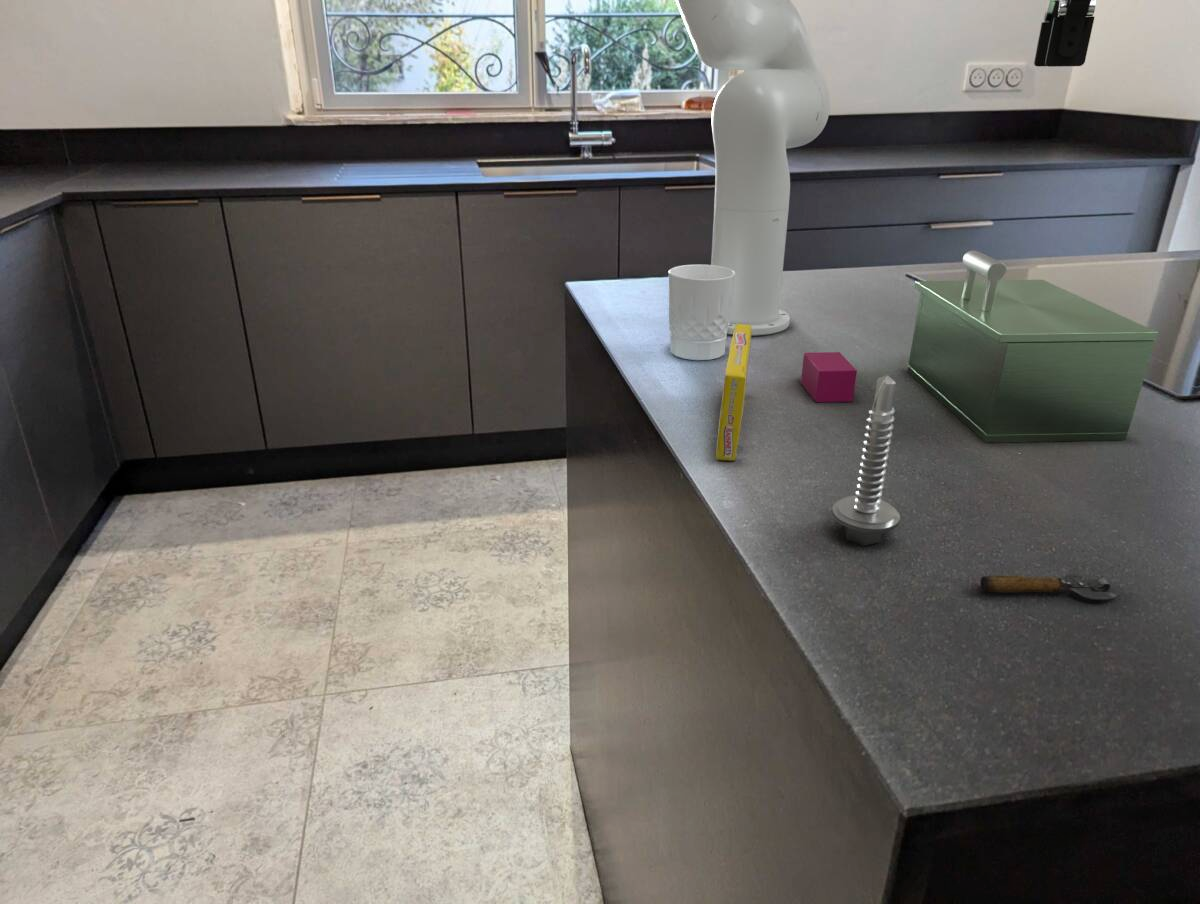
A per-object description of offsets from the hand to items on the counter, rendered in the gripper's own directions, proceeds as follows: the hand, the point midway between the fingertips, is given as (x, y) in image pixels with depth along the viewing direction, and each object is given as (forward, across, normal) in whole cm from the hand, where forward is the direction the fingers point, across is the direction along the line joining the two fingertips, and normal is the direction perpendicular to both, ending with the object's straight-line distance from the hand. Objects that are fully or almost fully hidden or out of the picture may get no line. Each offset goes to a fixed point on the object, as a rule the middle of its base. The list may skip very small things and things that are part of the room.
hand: (1057, 66), depth 80 cm
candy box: (+32, +23, -25) cm, 47 cm away
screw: (+32, +40, -12) cm, 53 cm away
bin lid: (+22, +8, 0) cm, 24 cm away
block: (+32, +10, -17) cm, 38 cm away
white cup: (+32, +2, -34) cm, 47 cm away
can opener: (+32, +44, +1) cm, 55 cm away
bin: (+32, +7, +1) cm, 33 cm away
